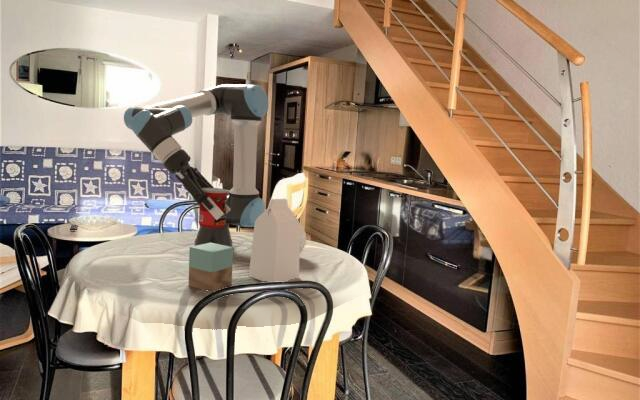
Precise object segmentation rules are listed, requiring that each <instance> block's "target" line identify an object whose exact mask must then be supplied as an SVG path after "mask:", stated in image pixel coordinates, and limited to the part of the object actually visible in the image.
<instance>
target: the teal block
mask: <svg viewBox="0 0 640 400" xmlns="http://www.w3.org/2000/svg"><path fill="white" fill-rule="evenodd" d="M233 257H234V246H232V247H229V246H225V245H220V244H215V243H206V244H201V245H197V246H192V245H191V246H189V257H188V259H189V260H188V268H189V267H192V268H196V269H200V270H204V271H208V272H215V271H219V270H222V269H226V268H229V267H232V268H233V259H234V258H233Z"/></svg>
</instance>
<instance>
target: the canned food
mask: <svg viewBox="0 0 640 400" xmlns="http://www.w3.org/2000/svg"><path fill="white" fill-rule="evenodd" d="M202 190H203V191H204V193H205V194H206V195H207V198H208V197H210V198H211V199H212V201H213V202H214V203H215V204H216V205H217V206H218V207H219V208H220V210H221V211H222V212H223V213H224V214H223V215H222V216H221V217H220V218H219V219H218V220H216V219H215V218H214V217H213V215H212V214H211V213H210V212H209V211H208V210H207V209H206V208H205V206H204V205H203V204H202V203H200V204H198V205H199V207H198V209H199V210H198V225H199V227H200V226H201V227H206V228H222V227H224V226H225V224H226V205H227V190H228V189H225V188H219V187H214V188H202Z"/></svg>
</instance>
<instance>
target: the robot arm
mask: <svg viewBox="0 0 640 400" xmlns="http://www.w3.org/2000/svg"><path fill="white" fill-rule="evenodd" d="M268 111H269V98H268V94H267V93H266V91H265V89H264V88H262V86H260V85H259V84H250V83H249V84H248V83H247V84H246V83H245V84H243V83H242V84H241V83H239V84H237V83H236V84H233V83H231V84H230V83H225V84H219V85H217V86H212V87H209V88H204V89H201V90H199V91H198V92H197V93H195V94H192V95H188V96H183V97H180V98H176V99H174V98H173V99H171V100H167V101H162V102H158V103H155V104H151V105H150V104H149V105H146V106H131V107H128V108H127V109H126V110H125V111H124V114H123V121H124V125H125V126H126V128H127V129H129V130H131V131H132V132H133V133H134V134H135V135H136V137H137V139H139V140H140V141H141V142H142V144H143V145H144V146H146V148H147V149H148V150H149V151H150V152H151V154H153V156H154V159H155V160H158V161H159V163H161V164H163V167H164V168H165V169H166V170H167V172H168V173H169V174H171V175H174V174H175V178H176V179H177V180H178V181H179V182H180V183H181V184H182V186H184V188H185V189H186V190H187V191H188V193H189V195H191V196H192V198H193V199H194V200H195V202H196V203H197V204H198V205H199V204H200V203H202V204H203V205H204V206H205V208H206V209H207V210H208V211H209V212H210V213H211V214H212V215H213V217H214V218H215V219H216V220H218V219H219V218H220V217H221V216H222V215H223V214H224V213H223V212H222V211H221V210H220V208H219V207H218V206H217V205H216V204H215V203H214V202H213V201H212V199H211V198H210V197H208V198H207V195H206V194H205V193H204V191H203V190H202V188H215V187H214V186H213V185H212V184H211V183H210V182H209V180H207V179H206V177H204V176H203V174H202V173H201V172H200V171H199V170H198V168H197V167H193V166H190V164H189V163H190V161H191V156H190V154H188V153H187V151H185V149H182V146H181V144H179V142H178V141H177V140H176V139H175V138H174V137H173V136H174V135H176V134H178V133H181V132H184V131H185V130H186V129H188V128H190V126H191V125H192V124H193V118H194V117H198V116H202V115H204V116H213V115H227V116H228V115H229V116H230V121H231V123H233V125H234V129H233V131H234V135H233V137H234V139H233V168H232V169H233V171H232V173H233V177H232V187H231V188H230V190H229V189H226V190H227V205H226V224H225V226H224V227H222V228H206V227H201V226H200V225H199V228H198V231H197V233H196V238H195V239H194V246H197V245H201V244H206V243H215V244H220V245H225V246H229V247H233V244H234V243H233V239H232V237H231V232H230V231H231V230H230V225H233V226H240V227H244V228H254V225H255V221H256V219H257V218H258V217H259V216H260V215H261V214H262V213H263V212H264V211H265V210H266V209H265V208H266V206H265V202H264V200H263V199H262V198H261V197H260V192H259V190H258V189H257V188H256V182H257V181H256V179H257V178H256V176H257V149H258V127H259V125H260V124H261V123H262V118H263V117H264V116H266V114H267V112H268Z"/></svg>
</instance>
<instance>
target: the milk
mask: <svg viewBox="0 0 640 400" xmlns="http://www.w3.org/2000/svg"><path fill="white" fill-rule="evenodd" d="M300 225H301V223H300V220H299V219H298V217H297V216H296V215H295V214H294V212H293V211H292V210H291V208H290V206H289V203H288V200H287V198H274V199H273V198H271V199H270V202H269V203H268V207H267V208H266V209H265V211H264V212H263V213H262V214H261V215H260V216H259V217H258V218H257V219H256V221H255V225H254V227H253V235H252V244H251V252H250V262H249V269H248V270H249V271H248V277H250V278H251V279H256V280H259V281H262V282H264V281H286V282H288V280H290V279H293V280H295V279H294V278H297V279H300V255H301V253H300ZM290 281H291V280H290Z"/></svg>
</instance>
